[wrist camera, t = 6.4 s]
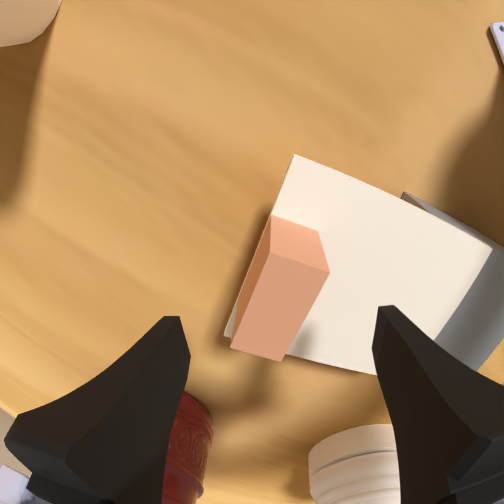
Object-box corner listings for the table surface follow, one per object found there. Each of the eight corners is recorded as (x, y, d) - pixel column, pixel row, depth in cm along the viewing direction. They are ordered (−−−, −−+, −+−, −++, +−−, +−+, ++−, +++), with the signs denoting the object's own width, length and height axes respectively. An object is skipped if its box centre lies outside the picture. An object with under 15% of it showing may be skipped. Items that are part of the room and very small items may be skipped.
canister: (135, 439, 35) (99, 553, 19) (81, 373, 29) (13, 507, 14) (230, 442, 33) (212, 579, 17) (188, 369, 27) (138, 557, 11)
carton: (516, 255, 20) (542, 278, 16) (450, 353, 25) (465, 383, 21) (404, 191, 19) (429, 212, 15) (333, 322, 24) (341, 359, 20)
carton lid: (488, 245, 16) (529, 283, 12) (399, 375, 20) (415, 423, 16) (293, 153, 14) (301, 174, 10) (224, 330, 19) (213, 386, 15)
